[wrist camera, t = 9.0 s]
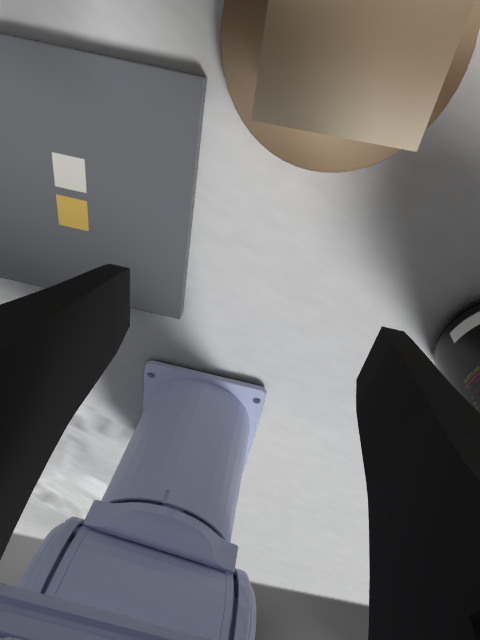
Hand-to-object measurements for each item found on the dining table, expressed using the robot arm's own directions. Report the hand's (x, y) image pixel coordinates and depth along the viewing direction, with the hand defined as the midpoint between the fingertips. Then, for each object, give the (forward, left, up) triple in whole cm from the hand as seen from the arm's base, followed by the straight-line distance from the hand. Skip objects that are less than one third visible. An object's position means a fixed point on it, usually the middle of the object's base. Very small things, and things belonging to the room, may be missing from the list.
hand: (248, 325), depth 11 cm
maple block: (+7, -1, -9) cm, 11 cm away
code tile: (-1, +10, -9) cm, 14 cm away
